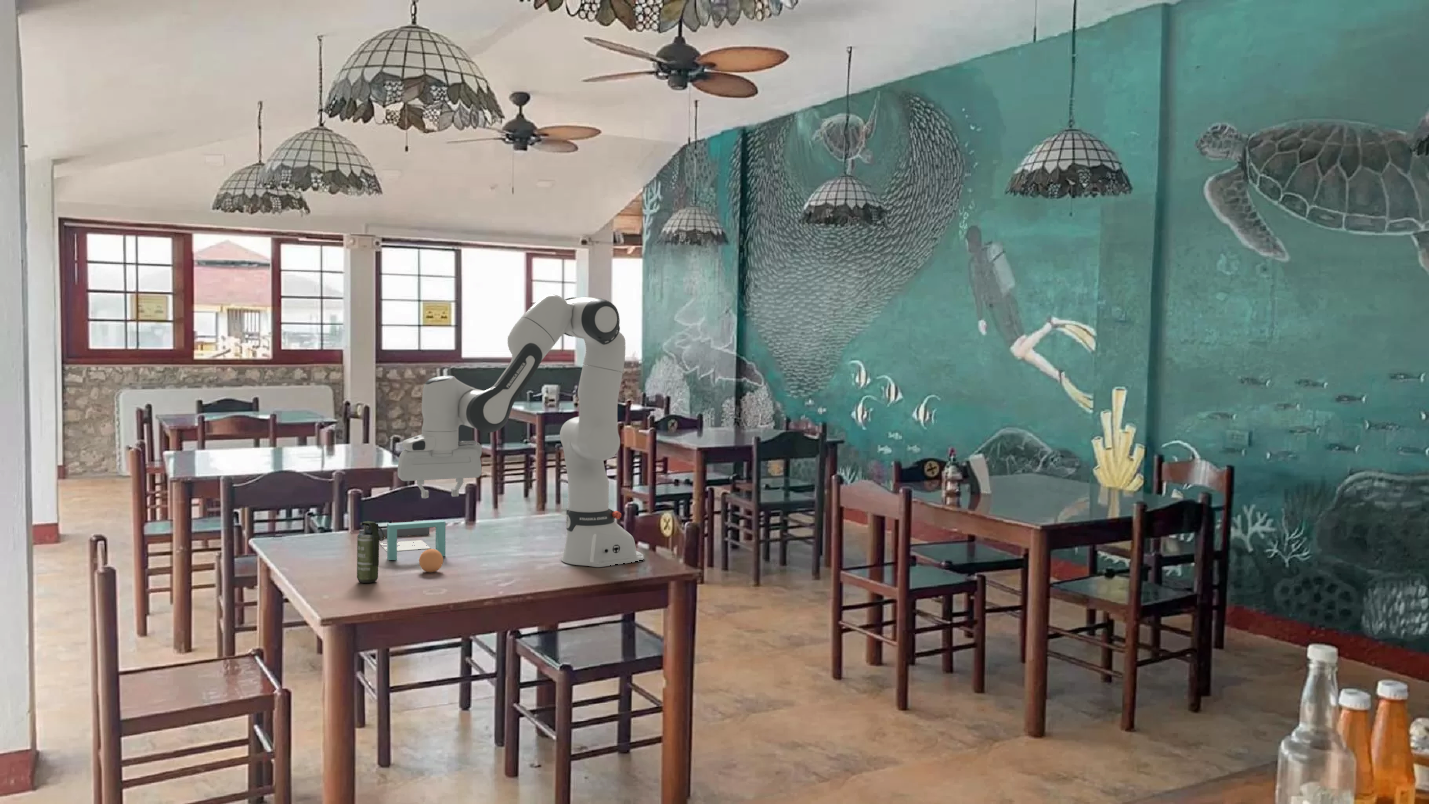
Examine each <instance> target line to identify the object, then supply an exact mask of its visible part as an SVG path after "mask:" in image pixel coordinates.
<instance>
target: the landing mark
mask: <svg viewBox="0 0 1429 804" xmlns="http://www.w3.org/2000/svg"><path fill="white" fill-rule="evenodd" d="M397 542H398V543H397V545H400V546H398V547H397V552H404V551H405V552H406V551H408V552H409V551H417V550H418V549H421V550H428V549H432V548H431V547H430V546H429V545H428V544H427V543H426V542H424V540H423V539H416V540H402V541H397ZM413 542H414V543H413ZM383 543H384V542H379V546H381V545H387V544H383ZM412 545H413V546H412ZM414 545H415V546H414ZM426 545H427V546H426ZM381 547H382V548H383V549H384V550H385V551H386V552H387V550H386V549H387V547H383V546H381ZM418 551H419V550H418Z"/></svg>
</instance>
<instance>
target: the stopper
mask: <svg viewBox="0 0 1429 804" xmlns="http://www.w3.org/2000/svg"><path fill="white" fill-rule="evenodd" d="M380 528H381V527H380ZM381 529H382V530H383V532H384V537H387V527H382V528H381ZM358 531H359V532H358V534H359V533H361V532H364V528H363V529H358ZM378 533H379V535H380V539H383V538H382V537H383V534H382V532H381V530H380V529H379V531H378ZM427 534H429V535H430V527H424V528H409V529H397V536H402V537H409V536H408V535H417V536H426V535H427ZM427 536H428V535H427Z"/></svg>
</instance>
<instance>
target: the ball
mask: <svg viewBox="0 0 1429 804" xmlns="http://www.w3.org/2000/svg"><path fill="white" fill-rule="evenodd" d="M418 561H419V562H418V563H419V567H420V569H422V570H423V571H424V572H426V573H435V572H437V571H440V569H441V568H442V567H443V563H444V557H443V556H442V554H441V553H440V552H439V551H438V550H436V548H431V549H424V551H423V552H422V553H420V556H419V559H418Z"/></svg>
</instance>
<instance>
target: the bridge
mask: <svg viewBox="0 0 1429 804" xmlns="http://www.w3.org/2000/svg"><path fill="white" fill-rule="evenodd" d="M424 527H429V528H435V550H438V551H439V552H440V553H441V554H442V556H445V557H446V527H447V525H446V521H445V520H444V519H435V520H421V521H419V520H418V521H406V522H405V521H404V522H403V521H402V522H401V521H400V522H391V523H390V522H389V523H386V528H387V539H386V541H387V542H386V543H387V551H386V554H387V555H386V557H387V558H386V559H387V560H388V561H389V560H397V561H398V551H397V542H398V537H397V529H409V528H424Z"/></svg>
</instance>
